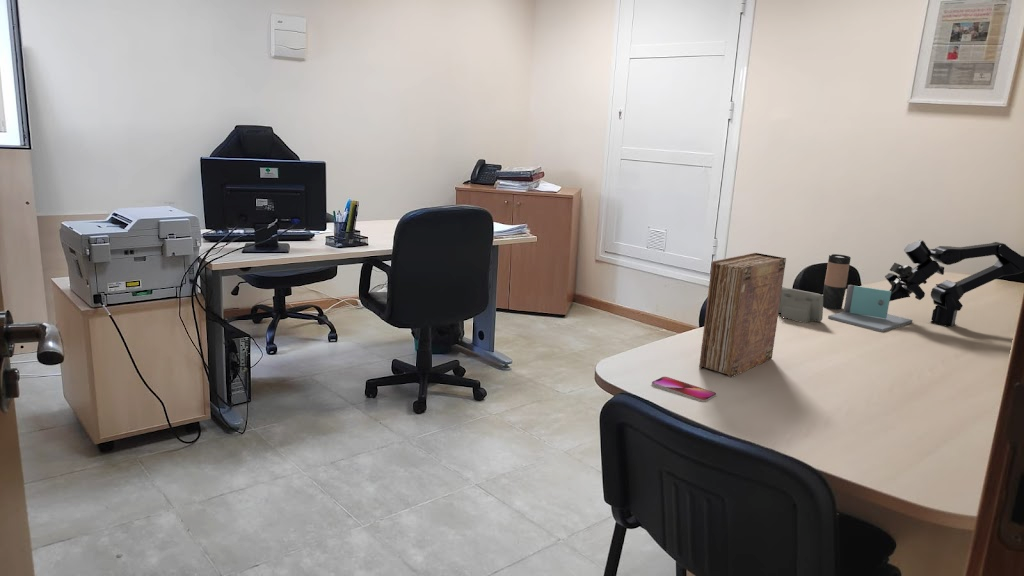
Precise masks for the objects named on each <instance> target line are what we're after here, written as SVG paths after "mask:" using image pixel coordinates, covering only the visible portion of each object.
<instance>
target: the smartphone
mask: <svg viewBox="0 0 1024 576" xmlns="http://www.w3.org/2000/svg"><path fill="white" fill-rule="evenodd" d="M651 387H653V388H657V389H661V390H664V391H668V392H670V393H673V394H676V395H679V396H683V397H686V398H688V399H689V398H690V399H692V400H695V401H698V402H705V403H706V402H708V401H710V400H712V399H713V398H715V397H716V396H717V392H715V391H712V390H709V389H706V388H702V387H700V386H696V385H693V384H690V383H687V382H684V381H682V380H677V379H675V378H671V377H669V376H662V377H660V378H658V379H656V380H653V381H652V382H651Z"/></svg>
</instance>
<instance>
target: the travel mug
mask: <svg viewBox="0 0 1024 576" xmlns="http://www.w3.org/2000/svg"><path fill="white" fill-rule="evenodd" d="M851 259H852V258H851V256H849V255H846V254H845V255H844V254H839V253H838V254H835V253H832V254H831V255H829V254H828V261H827V265H826V268H827V269H826V273H825V276H824V277H825V279H824V285H823V293H822V295H823V308H826V309H830V310H842V308H843V304H844V301H845V296H846V291H847V286H848V284H847V283H848V278H849V270H850V265H851Z"/></svg>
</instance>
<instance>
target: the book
mask: <svg viewBox="0 0 1024 576" xmlns="http://www.w3.org/2000/svg"><path fill="white" fill-rule="evenodd" d="M786 262H787V258H786V257H782V256H781V257H780V256H775V255H770V254H763V253H758V252H753V253H749V254H743V255H738V256H734V257H728V258H723V259H718V260H712V262H711V267H710V277H709V285H708V293H707V300H706V301H707V302H706V310H705V316H704V317H705V318H704V324H703V332H702V333H703V334H702V342H701V348H700V349H701V351H700V357H699V366H698V369H700V368H701V369H703V368H702V367H704V368H705V369H709V370H712V371H715V372H718V373H721V374H725V375H728V377H729V378H733V377H735V376H737V375H739V374H741V373H740V372H742V373H744V372H746V371H747V369H748V370H750V369H752V367H753V368H754V366H755V367H757V366H759V365H760V364H763V363H765V362H768V361H770V360H772V359H773V352H774V346H775V339H776V338H775V337H776V334H777V333H776V332H777V325H778V318H779V313H778V312H779V305H780V298H781V291H782V287H783V285H784V283H783V282H784V277H785V276H784V275H785V268H786ZM756 365H757V366H756ZM749 368H750V369H749ZM745 370H746V371H745ZM743 371H744V372H743ZM738 373H739V374H738ZM736 374H737V375H736ZM734 375H735V376H734ZM732 376H733V377H732Z"/></svg>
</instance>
